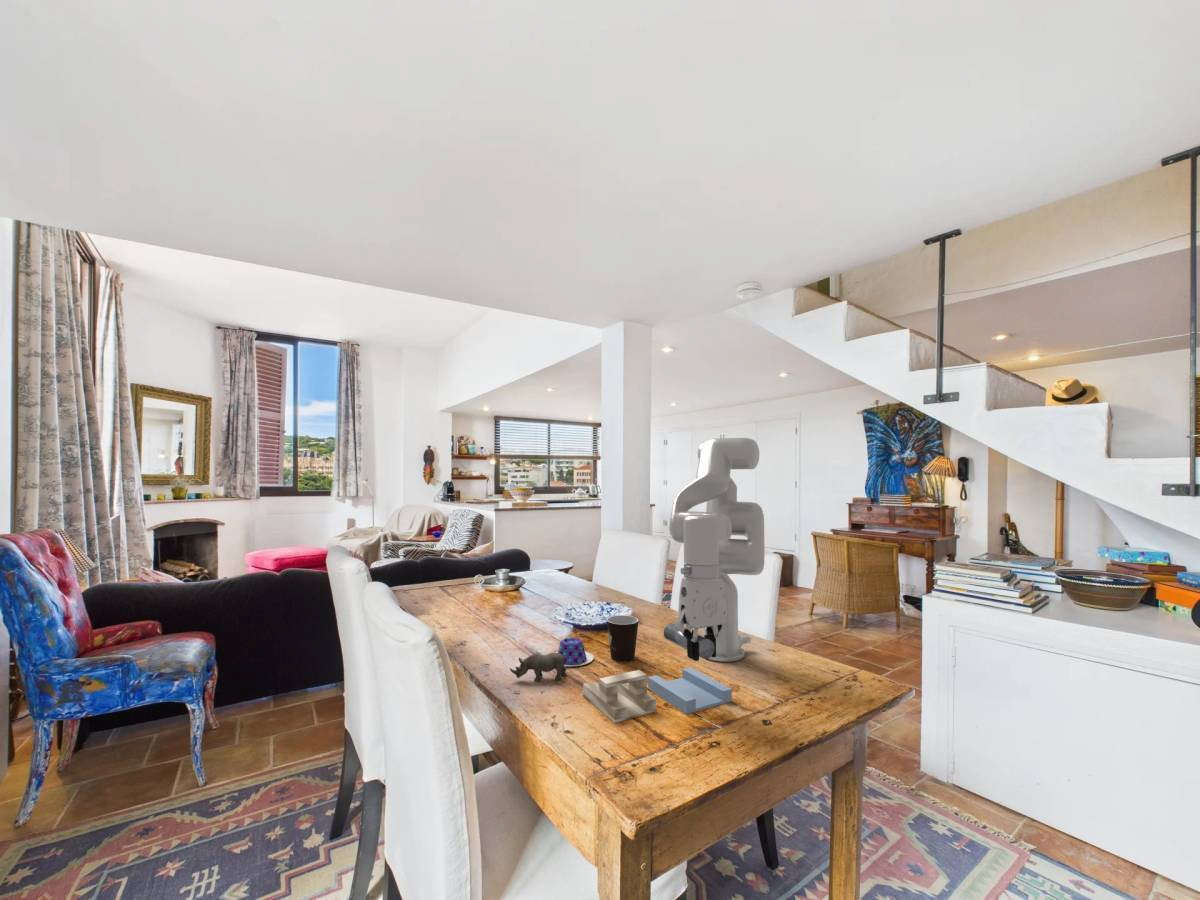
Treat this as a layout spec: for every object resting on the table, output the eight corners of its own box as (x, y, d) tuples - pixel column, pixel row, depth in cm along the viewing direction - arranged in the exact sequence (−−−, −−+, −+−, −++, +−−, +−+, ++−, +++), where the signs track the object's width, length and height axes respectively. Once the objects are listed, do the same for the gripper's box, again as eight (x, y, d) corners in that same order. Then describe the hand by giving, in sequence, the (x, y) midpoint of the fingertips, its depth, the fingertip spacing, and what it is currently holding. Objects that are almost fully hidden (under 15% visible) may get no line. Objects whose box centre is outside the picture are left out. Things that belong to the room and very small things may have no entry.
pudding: (541, 657, 136) (542, 637, 136) (581, 649, 141) (581, 631, 142) (559, 672, 125) (560, 651, 125) (601, 664, 131) (601, 643, 131)
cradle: (690, 678, 121) (690, 667, 121) (731, 701, 109) (731, 688, 109) (648, 688, 115) (647, 677, 115) (686, 714, 103) (686, 701, 103)
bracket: (621, 686, 116) (621, 658, 116) (656, 711, 104) (656, 680, 104) (583, 695, 111) (583, 666, 112) (614, 722, 99) (614, 690, 99)
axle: (663, 641, 117) (663, 624, 117) (677, 639, 119) (677, 622, 119) (699, 660, 105) (700, 641, 106) (714, 657, 107) (714, 638, 108)
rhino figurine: (509, 677, 121) (509, 652, 121) (565, 673, 124) (565, 648, 124) (510, 684, 117) (510, 658, 117) (568, 680, 120) (568, 654, 120)
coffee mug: (636, 664, 130) (636, 625, 130) (604, 661, 131) (604, 623, 132) (641, 649, 141) (641, 613, 142) (611, 647, 143) (611, 611, 143)
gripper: (681, 577, 102) (681, 669, 101) (741, 571, 110) (742, 656, 109) (659, 572, 108) (660, 658, 107) (718, 566, 116) (719, 646, 115)
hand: (701, 656), depth 108 cm, fingers closed on axle, 4 cm apart
